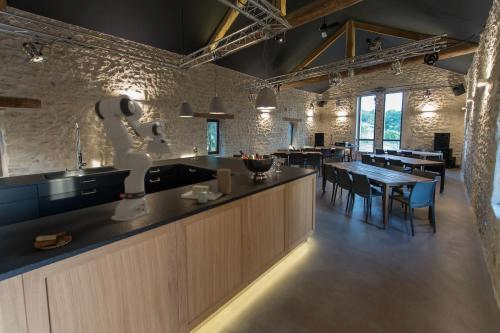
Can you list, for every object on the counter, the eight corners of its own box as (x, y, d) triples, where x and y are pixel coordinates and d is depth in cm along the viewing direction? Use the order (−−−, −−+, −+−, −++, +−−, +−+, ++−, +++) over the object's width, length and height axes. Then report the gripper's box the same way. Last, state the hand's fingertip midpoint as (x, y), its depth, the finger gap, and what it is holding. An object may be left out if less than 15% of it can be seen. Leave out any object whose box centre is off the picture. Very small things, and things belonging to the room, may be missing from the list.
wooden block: (231, 191, 213) (230, 168, 210) (228, 194, 203) (228, 170, 201) (219, 191, 214) (219, 168, 211) (217, 194, 204) (216, 170, 202)
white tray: (214, 200, 187) (214, 197, 186) (181, 197, 194) (181, 195, 194) (222, 195, 202) (222, 192, 202) (191, 192, 209) (191, 190, 209)
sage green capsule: (204, 203, 180) (204, 193, 179) (196, 202, 181) (195, 193, 180) (209, 200, 186) (208, 191, 185) (200, 199, 188) (200, 190, 187)
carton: (192, 194, 197) (206, 195, 194) (192, 186, 196) (205, 187, 193) (195, 192, 203) (209, 193, 199) (195, 185, 202) (209, 185, 199)
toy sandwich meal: (70, 246, 114) (69, 236, 113) (32, 253, 107) (30, 243, 106) (73, 236, 124) (72, 227, 124) (38, 242, 118) (37, 233, 117)
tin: (218, 193, 198) (218, 187, 197) (213, 193, 198) (213, 187, 197) (218, 192, 202) (218, 186, 201) (214, 192, 202) (213, 186, 201)
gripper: (144, 140, 190) (145, 158, 192) (167, 140, 184) (168, 159, 186) (150, 140, 196) (151, 157, 198) (172, 140, 190) (173, 158, 192)
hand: (159, 158), depth 192 cm, fingers closed
